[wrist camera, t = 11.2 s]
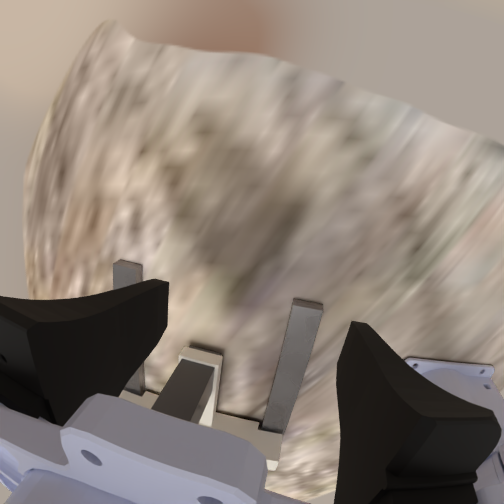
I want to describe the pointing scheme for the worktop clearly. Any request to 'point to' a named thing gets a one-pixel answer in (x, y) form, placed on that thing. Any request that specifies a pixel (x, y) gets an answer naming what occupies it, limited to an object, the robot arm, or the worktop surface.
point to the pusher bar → (205, 401)
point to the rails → (290, 362)
